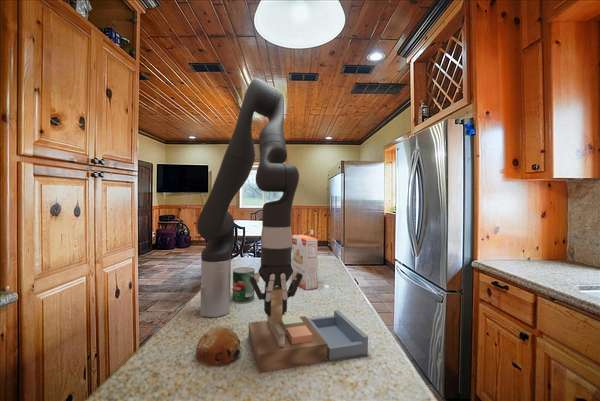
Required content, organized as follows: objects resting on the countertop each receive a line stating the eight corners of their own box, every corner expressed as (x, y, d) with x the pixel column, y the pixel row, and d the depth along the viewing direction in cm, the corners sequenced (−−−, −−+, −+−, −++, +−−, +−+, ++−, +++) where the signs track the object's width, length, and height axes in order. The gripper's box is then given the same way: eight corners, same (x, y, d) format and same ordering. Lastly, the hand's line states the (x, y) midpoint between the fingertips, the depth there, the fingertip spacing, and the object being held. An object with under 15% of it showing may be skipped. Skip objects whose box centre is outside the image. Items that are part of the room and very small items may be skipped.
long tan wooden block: (275, 347, 64) (276, 298, 64) (264, 321, 77) (264, 280, 77) (287, 345, 65) (288, 297, 65) (274, 320, 78) (275, 279, 78)
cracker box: (290, 281, 129) (291, 234, 129) (302, 279, 132) (303, 234, 132) (304, 290, 117) (305, 239, 116) (317, 288, 119) (318, 238, 119)
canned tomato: (228, 302, 103) (228, 271, 102) (238, 294, 110) (238, 266, 110) (248, 304, 101) (249, 273, 101) (257, 297, 108) (257, 267, 108)
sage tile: (284, 330, 73) (284, 324, 73) (279, 322, 78) (279, 316, 78) (303, 328, 75) (303, 322, 75) (297, 320, 79) (297, 314, 79)
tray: (329, 361, 67) (329, 342, 67) (305, 329, 83) (306, 313, 83) (367, 355, 70) (368, 336, 70) (337, 324, 86) (337, 309, 86)
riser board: (258, 372, 62) (258, 354, 62) (248, 337, 77) (248, 322, 77) (327, 360, 67) (327, 343, 67) (304, 330, 82) (305, 316, 82)
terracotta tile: (291, 344, 66) (292, 337, 66) (286, 334, 71) (286, 327, 71) (312, 341, 68) (312, 334, 68) (305, 331, 73) (305, 325, 73)
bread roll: (228, 356, 75) (220, 324, 77) (252, 352, 69) (243, 318, 71) (193, 373, 67) (186, 338, 69) (217, 371, 61) (208, 332, 63)
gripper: (299, 241, 77) (298, 306, 77) (245, 243, 72) (244, 311, 73) (308, 246, 69) (307, 317, 70) (249, 248, 65) (248, 324, 65)
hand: (275, 314), depth 71 cm, fingers closed on long tan wooden block, 2 cm apart
